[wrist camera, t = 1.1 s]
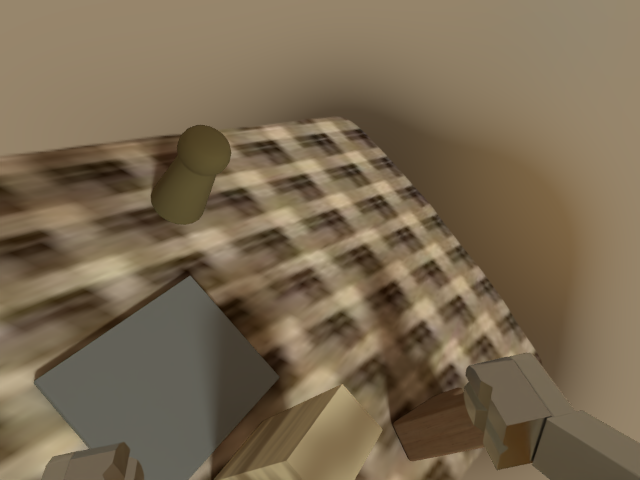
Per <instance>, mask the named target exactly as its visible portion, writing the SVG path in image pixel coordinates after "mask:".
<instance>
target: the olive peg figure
mask: <svg viewBox="0 0 640 480" xmlns="http://www.w3.org/2000/svg"><path fill="white" fill-rule="evenodd" d="M177 151H178V155H177V157H176V158H175V160H174V161H173V162H172V164H171V165H170V167H169V168H168V169H167V171H166V172H165V174H164V175H163V176H162V178H161V179H160V180H159V182H158V183H157V185H156V186H155V187H154V189H153V191H152V194H151V203H152V205H153V207H154V209H155V211H156V212H157V213H158V214H159V215H160V216H161V217H163V218H164V219H166V220H167V221H169V222H172V223H175V224H184V225H186V224H190V223H194V222H195V221H197V220H199V218H200V217H201V216H202V214H203V212H204V209H205V206H206V203H207V200H208V197H209V195H210V192H211V189H212V186H213V183H214V180H215V177H216V175H217V174H219V173H221V172H222V171H223V170H224V169H225V168H226V166H227V165H228V163H229V161H230V157H231V149H230V144H229V142H228V140H227V139H226V137H225V136H224V135H223V134H222V133H221V132H219V131H218V130H216V129H214V128H212V127H210V126H205V125H196V126H193V127H191V128H188V129H187V130H186V131H185V132H184V133H183V134H182V135H181V137H180V139H179V142H178V145H177Z"/></svg>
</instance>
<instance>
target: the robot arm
mask: <svg viewBox="0 0 640 480" xmlns="http://www.w3.org/2000/svg"><path fill="white" fill-rule="evenodd" d="M466 377H467V379H468V381H469V382H468V383H467V384H466V385H465V387H464V400H465V405H466V409H467V411H468V414H469V416H470V418H471V421H472V423H473V425H474V426H475V427H477V428H478V429H480V430H481V431H483V432H484V438H483V444H484V446H485V448H486V450H487V452H488V454H489V456H490V458H491V460H492V462H493V464H494V466H495V468H496V470H500V469H505V468H510V467H515V466H519V465H524V464H529V463H532V465H533V466H534V467H535V468H536V469H538V470H539V471H540V472H542V474H544V475H545V476H546V477H547V478H549V479H550V480H640V443H638V442H637V441H635V440H633V439H631V438H630V437H628V436H626V435H624V434H623V433H621V432H619V431H617V430H615V429H614V428H612V427H611V426H609V425H607V424H605V423H604V422H602V421H600V420H598V419H596V418H595V417H593V416H591V415H590V414H588V413H586V412H584V411H582V410H580V411H575V410H574V408H573V407H572V406H571V404H570V403H569V401H568V400H567V399H566V398H565V396H564V395H563V394H562V392H561V391H560V390H559V388H558V387H557V385H556V384H555V383H554V381H553V380H552V379H551V378H550V376H549V375H548V373H547V372H546V371H545V370H544V368H543V367H542V366H541V364H540V363H539V362H538V360H537V359H536V358H535V356H534V355H532V354H531V353H523V354H519V355H514V356H510V357H503V358H499V359H495V360H491V361H486V362H482V363H478V364H474V365H470V366H468V367H467V369H466ZM129 454H130V448H129V447H128V446H127V444H126V443H125V442H121V443H116V444H111V445H107V446H102V447H97V448H92V449H88V450H83V451H76V452H72V453H67V454H63V455H58V456H54V457H52V459H51V460H50V461H49V463H48V464H47V465H46V468H45V470H44V473H43V476H42V479H41V480H144V472H143V469H142V466H141V464H140V462H139V461H138V460H137V459H135V458H132V457H129Z"/></svg>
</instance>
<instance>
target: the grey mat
mask: <svg viewBox="0 0 640 480" xmlns="http://www.w3.org/2000/svg"><path fill="white" fill-rule="evenodd" d="M278 379H279V376H278V375H277V374H276V372H275V371H274V370H273V369H272V368H271V367H270V366H269V365H268V363H267V362H266V361H265V360H264V359H263V358H262V357H261V355H260V354H259V353H258V352H257V351H256V350H255V349H254V347H253V346H252V345H251V344H250V343H249V342H248V341H247V339H246V338H245V337H244V336H243V335H242V334H241V333H240V332H239V330H238V329H237V328H236V327H235V326H234V325H233V324H232V322H231V321H230V320H229V319H228V318H227V317H226V316H225V314H224V313H223V312H222V311H221V310H220V309H219V308H218V307H217V305H216V304H215V303H214V302H213V301H212V300H211V299H210V297H209V296H208V295H207V294H206V293H205V292H204V291H203V289H202V288H201V287H200V286H199V285H198V284H197V283H196V281H195V280H194V279H193V278H192V277H191V276H189V277H187V278H186V279H184V280H183V281H181V282H180V283H178V284H177V285H175V286H174V287H172V288H171V289H169V290H168V291H166V292H165V293H164V294H162V295H161V296H159V297H158V298H156V299H155V300H153V301H152V302H150V303H149V304H147V305H146V306H144V307H143V308H141V309H140V310H138V311H137V312H135V313H134V314H133V315H131V316H130V317H128V318H127V319H125V320H124V321H122V322H121V323H119V324H118V325H116V326H115V327H113V328H112V329H110V330H109V331H107V332H106V333H104V334H103V335H101V336H100V337H99V338H97V339H96V340H94V341H93V342H91V343H90V344H88V345H87V346H85V347H84V348H82V349H81V350H79V351H78V352H76V353H75V354H73V355H72V356H70V357H69V358H68V359H66V360H65V361H63V362H62V363H60V364H59V365H57V366H56V367H54V368H53V369H51V370H50V371H48V372H47V373H45V374H44V375H42V376H41V377H39V378H38V379H36V380H35V381H34V384H35V385H36V387H37V388H38V389H39V390H40V391H41V392H42V394H43V395H44V396H45V397H46V398H47V399H48V401H49V402H50V403H51V404H52V405H53V406H54V408H55V409H56V410H57V411H58V412H59V414H60V415H61V416H62V417H63V418H64V419H65V421H66V422H67V423H68V424H69V425H70V426H71V428H72V429H73V430H74V431H75V432H76V433H77V435H78V436H79V437H80V438H81V439H82V440H83V442H84V443H85V444H86V445H87V446H88V447H89V449H92V448H97V447H102V446H107V445H111V444H116V443H121V442H125V443H126V444H127V446H128V447H129V448H130V454H129V457H132V458H135V459H137V460H138V461H139V462H140V464H141V466H142V469H143V472H144V480H188V479H189V478H190V477H191V476H192V475H193V474H194V473H195V472H196V470H197V469H198V468H199V467H200V466H201V465H202V464H203V463H204V462H205V460H206V459H207V458H208V457H209V456H210V455H211V454H212V453H213V451H214V450H215V449H216V448H217V447H218V446H219V445H220V444H221V442H222V441H223V440H224V439H225V438H226V437H227V436H228V435H229V433H230V432H231V431H232V430H233V429H234V428H235V427H236V426H237V425H238V423H239V422H240V421H241V420H242V419H243V418H244V417H245V416H246V414H247V413H248V412H249V411H250V410H251V409H252V408H253V407H254V405H255V404H256V403H257V402H258V401H259V400H260V399H261V398H262V396H263V395H264V394H265V393H266V392H267V391H268V390H269V389H270V388H271V386H272V385H273V384H274V383H275V382H276V381H277V380H278Z"/></svg>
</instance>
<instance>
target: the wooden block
mask: <svg viewBox="0 0 640 480" xmlns="http://www.w3.org/2000/svg"><path fill="white" fill-rule="evenodd" d="M393 427H394V429H395V431H396V433H397V435H398V437H399V439H400V441H401V444H402V446H403V448H404V450H405V452H406V454H407V456H408V458H409V460H410V461H417V460H422V459H427V458H432V457H438V456H443V455H448V454H453V453H458V452H463V451H468V450H473V449H478V448H483V447H485V446H484V444H483V438H484V432H483V431H481V430H480V429H478V428H477V427H475V426H474V425H473V423H472V421H471V418H470V416H469V414H468V411H467V409H466V405H465V400H464V392H463V390H462V389H461V388H455V389H452V390H450V391H447V392H444V393H441V394H438V395H435V396H434V397H432V398H431V399H429V400H428V401H426V402H424V403H423V404H421V405H420V406H418V407H417V408H415V409H413V410H412V411H410V412H409V413H407V414H406V415H404V416H403V417H401V418H399V419H398V420H396V421H395V422H394V423H393Z"/></svg>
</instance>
